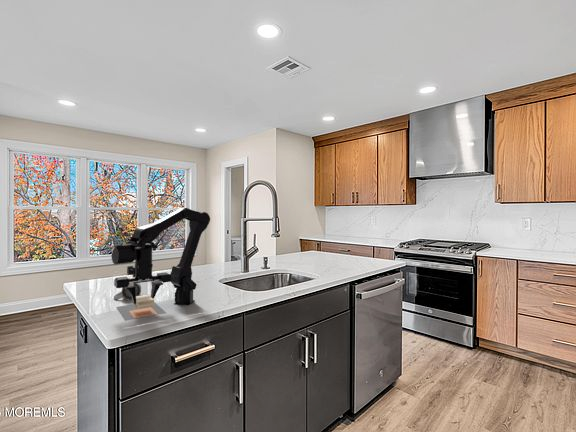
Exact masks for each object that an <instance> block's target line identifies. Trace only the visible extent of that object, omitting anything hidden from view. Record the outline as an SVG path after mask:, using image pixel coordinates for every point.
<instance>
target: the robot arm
mask: <svg viewBox="0 0 576 432" xmlns="http://www.w3.org/2000/svg"><path fill="white" fill-rule="evenodd" d="M183 220H187V221H188V225H189V232H188V233H189V234H188V235H187V239H186V242H185V244H184V248H183V251H182V254H181V257H180V260H179V262H178V264H177V265H176V266H175V265H172V267H171V272H170V273H169V272H157V273H156V275H153V249H159V246H158V245H156V244H155V242H154V241H155V240H156V239H157V238H158V237H159V236H160V235H161V233H162V232H164V231H165V230H168V229H169V228H171V227H173V226H174V225H176V224H177V223H179V222H181V221H183ZM210 222H211V217H210V215H209V213H208V212H205V211H197V210H193V209H190V208H188V207H179V208H178V209H177V210H175V211H173V212H171V213H170V214H168V215H166V216H164V217H162V218H161V219H160V218H159V219H158V220H157V221H154V222H152V223H148V224H145V225H142V226H138V227H136V228H135V229H134V230H133V233H132V236H131V237H130V239H128V242H127V243H126V244H114V248H113V250H112V253H111V260H112V263H113V265H123V264H130V263H134V265H128V266H127V267H126V274H127V276H132V278H129V277H127V276H119V277H118V276H117V277H115V278H114V279H113V280H114V281H113V285H114V287H115V288H116V289H122V288H125V289H128V290H129V292H130V294H131V297H132V298H131V300H132V303H133V302H134V304H136V291H135V286H134V283H140V284H141V283H147V282H148V283H149V282H151V291H150V297H152V298H153V299H154V300H155V296H156V294H157V292H158V291H159V289H160V287H161V286H164V284H165V283H171V284H172V286H173V288H174V289H175V292H174V303H173V305H176V306H177V305H178V306H190V305H191V304H193V303H194V302H195V301H196V300H194V290H196V287H197V285H198V284H197V283H196V282H195V281H194V280H193V279H192V276H193V271H192V264H193V261H194V259H195V258H194V257H195V255H196V253H197V249H198V247H199V243H200V239H201V237H202V234H203V233H204V231H205V230H206V229H207V228H208V226H209V224H210ZM134 261H135V262H134Z"/></svg>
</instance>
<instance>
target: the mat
mask: <svg viewBox="0 0 576 432" xmlns="http://www.w3.org/2000/svg"><path fill="white" fill-rule="evenodd" d="M115 307H116V310H117V311H118V312H119V314H120V315H121V317H122V318H123V320H124V321H125V322H126V321H131V320H135V319H141V318H146V317H151V316H152V317H153V316H158V315H162V314H167V312H166V311H165V310H164V309H163V308H161V306H159V305H158V304H157V303H156V301H154V307H148V308H142V309H138V308H137V307H136V306H135V305H134V304H133V303H132V304H126V305H119V306H115Z"/></svg>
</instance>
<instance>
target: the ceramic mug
mask: <svg viewBox="0 0 576 432" xmlns="http://www.w3.org/2000/svg"><path fill="white" fill-rule="evenodd" d="M134 286H135V291H136V296H141V294H142V286H141V283H134ZM122 298H123V299H124V300H126V301H130V299H132V297H131V294H130V292H129V290H128V289H125V288H121V291H120V292H119V293H116V294H115V295H114V296H113V299H114V300H117V301H118V300H120V299H122Z"/></svg>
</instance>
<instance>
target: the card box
mask: <svg viewBox="0 0 576 432" xmlns="http://www.w3.org/2000/svg"><path fill="white" fill-rule="evenodd" d="M154 302H155V298H154V299H153V298H152V297H151V295H150V294H143V295H140V296H136V304H134V302H133V301H132V304H134V305H135V306H136V307H137V308H138V309H142V308H148V307H154Z"/></svg>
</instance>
